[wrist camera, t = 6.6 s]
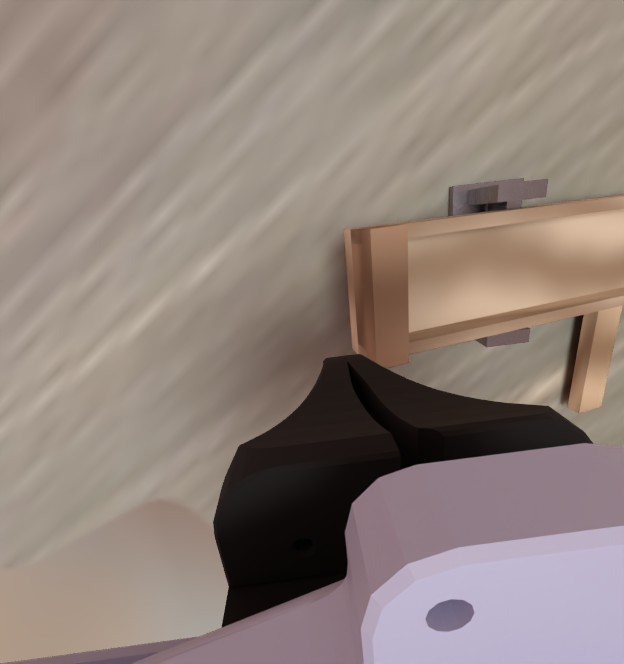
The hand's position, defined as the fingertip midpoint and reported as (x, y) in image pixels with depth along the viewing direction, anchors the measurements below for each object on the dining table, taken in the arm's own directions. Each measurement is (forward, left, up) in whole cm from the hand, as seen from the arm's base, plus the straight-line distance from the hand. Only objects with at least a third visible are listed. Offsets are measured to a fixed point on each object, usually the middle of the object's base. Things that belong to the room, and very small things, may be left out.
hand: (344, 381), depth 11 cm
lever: (-2, -10, -7) cm, 12 cm away
